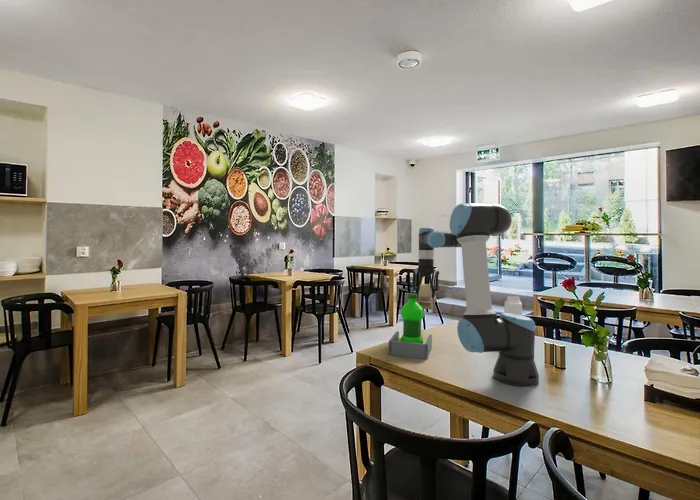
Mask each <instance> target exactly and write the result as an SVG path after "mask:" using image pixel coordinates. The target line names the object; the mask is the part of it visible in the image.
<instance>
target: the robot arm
mask: <svg viewBox="0 0 700 500" xmlns="http://www.w3.org/2000/svg"><path fill="white" fill-rule="evenodd" d="M512 220H513V219H512V215H511V213H510V211H509V210H508V209H507V208H506V207H504V206H503V205H501V204H498V203H474V202H473V203H470V202H467V203H459V204H457V205H456V206H455V207H454V208H453V210H452V213H451V215H450V220H449V231H438V230H437V231H436V230H435V229H434V228H433V227H420V228H419V230H418V261H417V262H418V265H417V268H416V269H413V270H412V278H413V279H412V290H414V291H416V294H417V298H418V297H419V299H420V285H421V284H422V281H423V279H424V277H426V278H428V282H429V284H430V286H431V292H430V300H432V298H434V296H435V292H437V291H438V290H439V274H440V271H439V270H436V269H435V267H434V266H435V265H434V261H435V260H434V256H435V255H434V254H435V253H434V252H435V249H436V248H437V249H439V248H461V254H462V267H463V276H464V277H463V279H464V290H465V291H464V293H465V305H466V309H465V311H464V312H463V313H462V318H461V319H460V320H458V322H457V326H456V328H457V336H458V339H459V341H460V342H459V343H461V345H462V347H463V349H465V350H466V351H467V352H470V353H479V354H482V353H491V352H494V353H495V352H498V356H497V360H496V362H495V363H494V366H493V377H494V379H496V380H497V381H499V382H501V383H504V384H506V385H510V386H514V387H515V386H516V387H533V386H534V387H535V386H537V385H538V384H539V383H540V375H539V372H538V368H537V365H536V361H535V345H536V344H535V343H536V342H535V339H536V338H535V337H536V332H537V331H536V322H535V320H533V319H532V318H531V317H528V316H527V315H526V316H525V315H523V314H522V315H517V314H512V313H504V312H501V313H500V315H499V317H498V314H497V312H496V311H495V310H494V309H493V308H492V296H491V286H490V275H489V265H488V264H489V263H488V262H489V261H488V254H487V253H488V252H487V251H488V250H487V242H488V241H489V239H490V236H492V237H496V236H500V235H502V234H505V233H506V232H508V230H510V228H511V225H512V222H513V221H512ZM433 273H434V275H435V278H434V279H435V286H434V283H433V277H432V275H433ZM417 274H419V279H418V284H417Z"/></svg>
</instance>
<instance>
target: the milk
mask: <svg viewBox="0 0 700 500" xmlns="http://www.w3.org/2000/svg"><path fill="white" fill-rule="evenodd" d="M503 309H504V310H503V311H504V312H503V313H512V314H517V315H522V316H523V303H522V301H521V298H520V296H519V295H517V296H514V295H513V296H511V295H509V296H507V297H506V300H505V301H504V308H503Z"/></svg>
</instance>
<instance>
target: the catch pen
mask: <svg viewBox="0 0 700 500" xmlns="http://www.w3.org/2000/svg"><path fill="white" fill-rule="evenodd" d="M432 347H433V335H432V334H429V335H428V336H427V339H426V341H425V343H423V344H421V343H412V342H402V341H401V340H400V332H399V331H395V332H394V334H393V335H392V337H391V338H390V339H389V340H388V355H389V356H395V355H396V356H397V357H398V356H399V357H406V358H412V359H413V358H415V359H421V360H422V359H423V360H428V358H429V356H430V354H431V352H432V351H431V350H432Z"/></svg>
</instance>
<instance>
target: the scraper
mask: <svg viewBox="0 0 700 500" xmlns="http://www.w3.org/2000/svg"><path fill="white" fill-rule="evenodd" d="M419 291H420V299H419V297H417V299H416V302H417V303H418V304H419V305H420V306H421V307H422V308H423V310H425V309H426V310H432V308H433V306H434V305H435V303H436V299H437V298H436V297H437V296H436V295H434V298H432V300H430V292H431V291H432V290H431V286H430V283H429V284H428V283H427V284H426V283H421V285H420V290H419Z"/></svg>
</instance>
